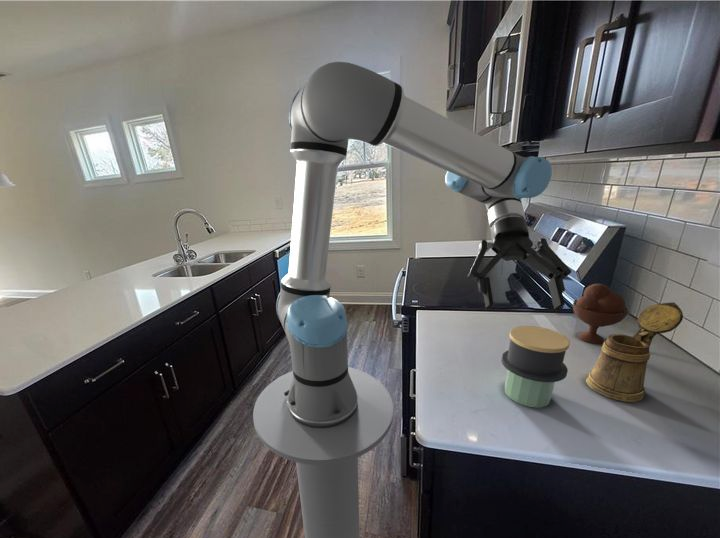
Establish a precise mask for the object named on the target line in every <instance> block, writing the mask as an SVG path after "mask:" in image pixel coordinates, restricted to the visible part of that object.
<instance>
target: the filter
mask: <svg viewBox="0 0 720 538" xmlns="http://www.w3.org/2000/svg"><path fill="white" fill-rule="evenodd" d="M509 339H510V340H509V346H508V350H505V351H503V353H502V355H501V359H500V361H501V364H502V366H503V367H504V368H505V369H506V370H507V371H508V370H509V371H510V372H512V373H514V374H516V375H518V376H520V377H523V378H526V379H529V380H533V381H539V382H555V383H557V382H561V381H563V380H565V379H566V377H567V375H568V367H567V365H566V364H565V362H564V359H565V356H566V351H567V350H568V349H569V348H570V346H571V345H570V344H571V342H570V340H569V338H568V337H567V336H566V335H564V334H562V333H560V332H558V331H556V330H553V329H549V328H546V327H541V326H536V325H520V326H516V327H515V326H514V327H513V328H512V329H511V330H510V331H509Z"/></svg>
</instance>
